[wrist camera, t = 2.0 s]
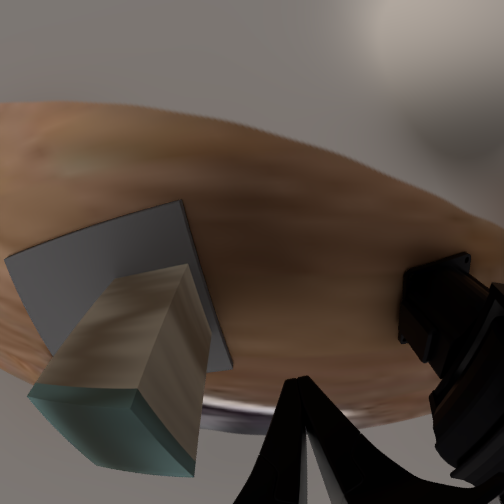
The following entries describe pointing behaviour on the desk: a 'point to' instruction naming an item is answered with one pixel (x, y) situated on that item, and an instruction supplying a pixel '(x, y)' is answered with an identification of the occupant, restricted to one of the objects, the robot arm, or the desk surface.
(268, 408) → the desk surface
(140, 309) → the ash block
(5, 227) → the desk surface
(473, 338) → the robot arm
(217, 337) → the mat
